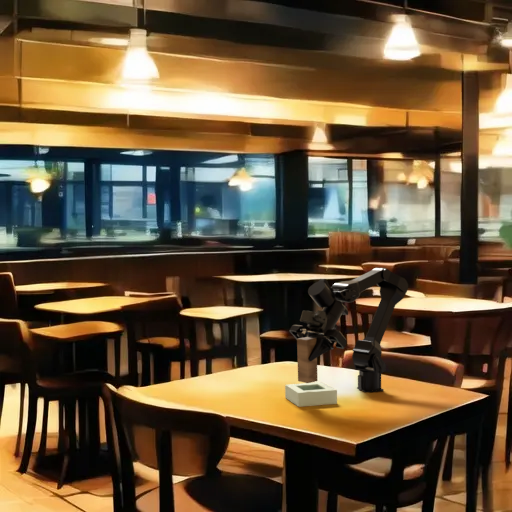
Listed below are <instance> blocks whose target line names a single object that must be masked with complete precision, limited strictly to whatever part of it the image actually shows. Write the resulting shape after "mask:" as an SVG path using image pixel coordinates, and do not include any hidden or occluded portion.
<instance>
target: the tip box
mask: <svg viewBox="0 0 512 512" xmlns="http://www.w3.org/2000/svg"><path fill="white" fill-rule="evenodd" d="M284 386H285V387H284V389H285V390H284V391H285V392H284V393H285V394H284V395H285V397H284V398H285V399H287V400H288V401H289V402H291V403H292V404H294V406H297V407H298V408H300V407H313V406H321V405H322V406H325V405H336V404H337V405H338V390H337V389H336V388H334V387H332V386H330V385H328V384H327V383H325V382H323V381H315V382H311V383H304V382H301V383H289V384H285V385H284Z"/></svg>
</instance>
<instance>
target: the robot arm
mask: <svg viewBox="0 0 512 512" xmlns="http://www.w3.org/2000/svg"><path fill="white" fill-rule="evenodd" d="M374 286H377V287H378V288H379V295H380V301H379V304H378V306H377V308H376V311H375V313H374V316H373V319H372V321H371V322H370V323H371V324H370V326H369V328H368V330H367V333H366V336H365V337H364V338H363V339H362V340H361V339H357V341H356V342H355V346H354V348H353V349H352V356H351V359H352V362H353V365H354V369H355V371H358V375H357V387H356V389H357V390H359V391H361V392H363V393H373V392H374V393H375V392H383V391H384V388H382V373H384V372H386V368H387V364H386V363H385V361H384V360H383V358H382V357H381V356H382V354H383V352H382V348H381V342H382V340H383V338H384V335H385V332H386V330H387V327H388V325H389V322H390V319H391V317H392V314H393V312H394V310H395V307H396V305H398V304H399V302H401V301H402V300H403V299H404V298H405V296H406V294H407V292H408V291H409V283H408V280H406V279H405V277H402V276H401V275H398V274H396V273H394V272H392V271H391V270H389V269H388V268H386V267H375V268H373V269H371V270H369V271H367V272H366V273H364V274H362V275H359V276H358V277H356V278H353V279H351V280H345V281H338V282H335V283H334V284H333V283H332V286H331V285H330V284H329V282H328V280H327V279H326V278H320V279H319V280H318V281H316V282H315V283H312V285H310V286H309V287H308V290H307V293H308V295H309V296H310V297H311V299H312V300H313V301H314V303H315V304H316V306H318V307H319V308H322V309H321V310H317V311H310V310H302V312H301V316H300V319H299V321H300V322H302V323H305V324H307V325H306V327H307V328H308V329H310V330H308V329H307V328H306V327H305V326H304V325H300V324H293V325H291V327H290V328H289V331H288V332H289V333H290V334H291V335H292V336H293V337H294V339H295V340H296V341H297V339H298V338H304V337H310V338H317V341H316V344H315V346H314V348H313V350H312V352H311V354H310V356H309V358H308V360H309V361H312V360H314V359H315V358H317V359H318V357H320V356H321V355H324V354H326V353H327V352H328V351H330V350H334V349H335V347H336V349H340V350H341V349H342V350H344V349H345V347H346V345H347V342H348V341H347V338H346V337H345V336H344V335H343V333H342V332H341V331H340V330H339V329H338V327H339V326H338V325H337V324H338V322H339V320H340V318H341V316H342V315H343V316H349V310H348V306H347V305H344V303H354V301H356V300H357V299H358V298H360V295H361V293H363V292H364V291H366V290H368V289H370V288H372V287H374ZM334 345H335V347H334Z"/></svg>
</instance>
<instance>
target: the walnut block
mask: <svg viewBox="0 0 512 512" xmlns="http://www.w3.org/2000/svg"><path fill="white" fill-rule="evenodd" d="M316 341H317V338H310V337H304V338H298V339H297V340H296V347H297V348H296V349H297V350H296V351H297V356H296V357H297V382H301V383H315V382H318V357H317V358H315V359H314V360H312V361H309V360H308V358H309V356H310V354H311V352H312V350H313V348H314V346H315V344H316Z"/></svg>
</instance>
